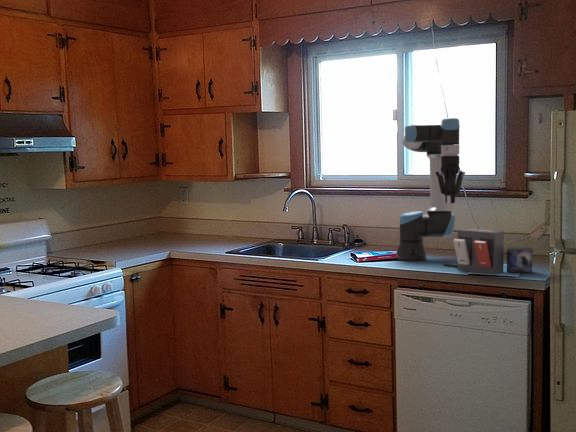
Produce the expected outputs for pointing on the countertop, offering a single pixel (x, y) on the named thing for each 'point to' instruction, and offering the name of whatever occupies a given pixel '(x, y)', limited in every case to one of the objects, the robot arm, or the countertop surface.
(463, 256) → the rocker ivory
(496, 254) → the power unit
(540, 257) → the countertop surface
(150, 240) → the countertop surface
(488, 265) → the rocker red
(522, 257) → the small box
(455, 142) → the robot arm
